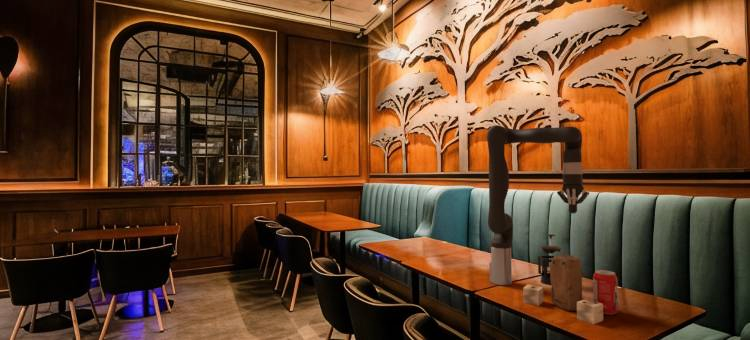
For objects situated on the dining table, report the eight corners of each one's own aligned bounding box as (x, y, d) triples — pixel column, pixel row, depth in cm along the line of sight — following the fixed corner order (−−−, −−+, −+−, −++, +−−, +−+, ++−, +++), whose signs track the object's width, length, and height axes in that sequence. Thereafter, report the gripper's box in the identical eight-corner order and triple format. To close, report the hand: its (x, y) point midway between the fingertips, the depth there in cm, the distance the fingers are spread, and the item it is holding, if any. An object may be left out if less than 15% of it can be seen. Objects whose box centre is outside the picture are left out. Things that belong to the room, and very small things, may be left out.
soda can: (588, 310, 141) (588, 270, 141) (602, 306, 144) (601, 268, 144) (608, 317, 133) (608, 275, 134) (623, 313, 136) (622, 273, 137)
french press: (568, 283, 174) (567, 235, 174) (555, 287, 169) (555, 237, 169) (545, 277, 184) (544, 231, 184) (533, 280, 179) (532, 233, 179)
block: (584, 310, 140) (583, 258, 140) (568, 313, 138) (567, 259, 138) (562, 301, 150) (562, 252, 150) (547, 303, 148) (546, 253, 148)
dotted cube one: (523, 302, 150) (523, 287, 150) (528, 298, 154) (527, 283, 154) (538, 306, 146) (538, 290, 146) (543, 301, 150) (543, 286, 150)
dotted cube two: (576, 318, 133) (576, 301, 133) (586, 315, 136) (585, 298, 136) (594, 324, 128) (593, 306, 128) (603, 320, 131) (602, 303, 131)
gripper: (553, 173, 162) (553, 212, 162) (585, 173, 152) (586, 215, 151) (560, 173, 167) (561, 211, 166) (592, 173, 156) (593, 213, 156)
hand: (573, 213), depth 159 cm, fingers closed
